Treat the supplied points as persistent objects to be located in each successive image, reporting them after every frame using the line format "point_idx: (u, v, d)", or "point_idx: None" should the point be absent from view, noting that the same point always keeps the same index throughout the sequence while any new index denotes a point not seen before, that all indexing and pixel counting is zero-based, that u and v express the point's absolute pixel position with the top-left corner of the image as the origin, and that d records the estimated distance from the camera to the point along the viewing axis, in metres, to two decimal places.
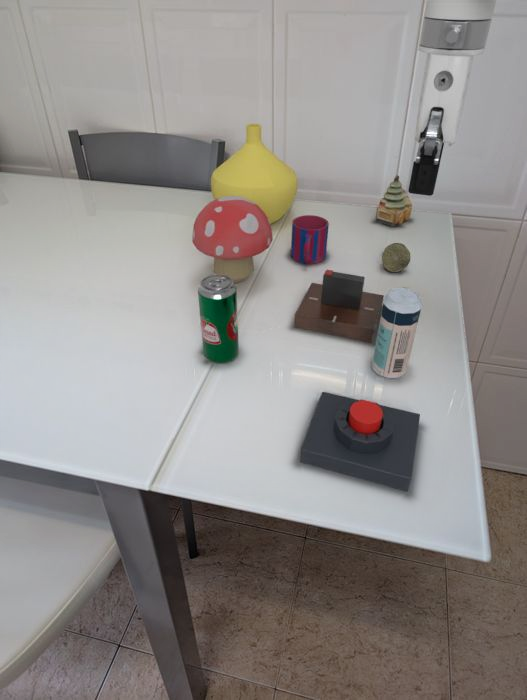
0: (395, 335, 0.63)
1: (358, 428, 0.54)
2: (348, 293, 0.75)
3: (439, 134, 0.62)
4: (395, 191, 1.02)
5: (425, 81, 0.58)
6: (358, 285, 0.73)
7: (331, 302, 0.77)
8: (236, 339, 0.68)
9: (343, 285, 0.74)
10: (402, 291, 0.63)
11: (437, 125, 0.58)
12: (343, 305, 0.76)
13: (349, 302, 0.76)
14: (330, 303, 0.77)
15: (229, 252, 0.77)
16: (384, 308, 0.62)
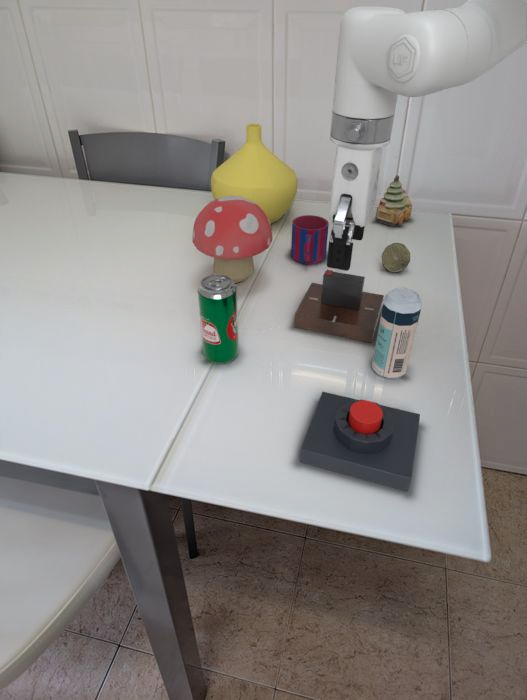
0: (395, 335, 0.63)
1: (358, 428, 0.54)
2: (348, 293, 0.75)
3: (352, 215, 0.65)
4: (395, 191, 1.02)
5: (334, 170, 0.61)
6: (358, 285, 0.73)
7: (331, 302, 0.77)
8: (236, 339, 0.68)
9: (343, 285, 0.74)
10: (402, 291, 0.63)
11: (344, 212, 0.61)
12: (343, 305, 0.76)
13: (349, 302, 0.76)
14: (330, 303, 0.77)
15: (229, 252, 0.77)
16: (384, 308, 0.62)
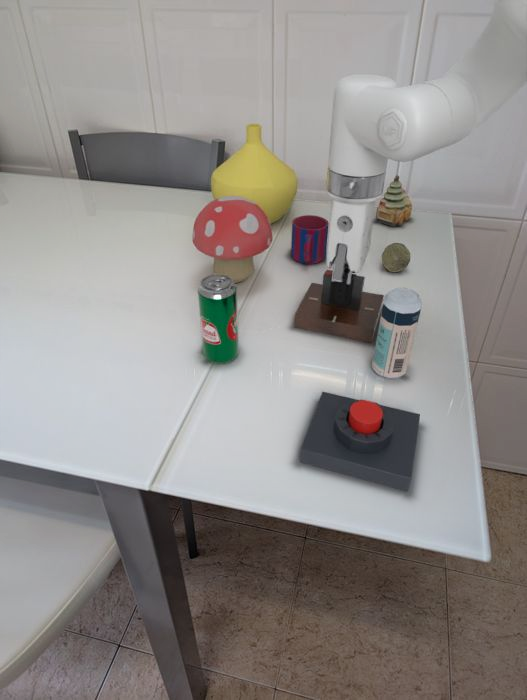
0: (395, 335, 0.63)
1: (358, 428, 0.54)
2: None
3: (348, 261, 0.69)
4: (395, 191, 1.02)
5: (330, 221, 0.65)
6: (358, 285, 0.73)
7: None
8: (236, 339, 0.68)
9: None
10: (402, 291, 0.63)
11: (341, 270, 0.68)
12: None
13: None
14: (330, 303, 0.77)
15: (229, 252, 0.77)
16: (384, 308, 0.62)
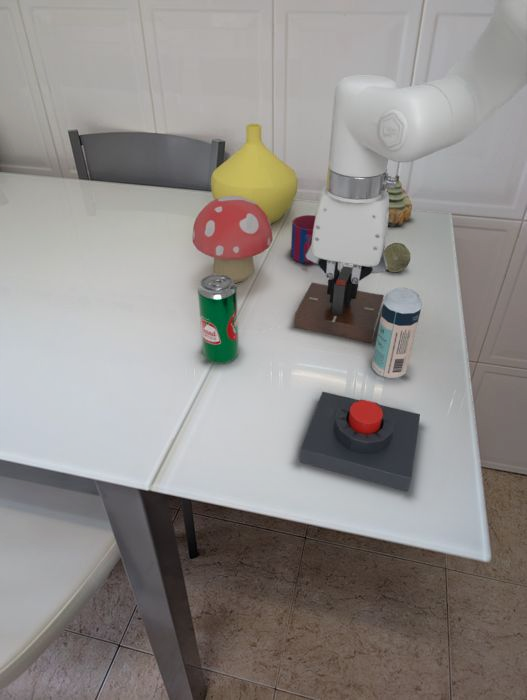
0: (395, 335, 0.63)
1: (358, 428, 0.54)
2: None
3: None
4: (395, 191, 1.02)
5: (379, 222, 0.66)
6: None
7: (344, 306, 0.76)
8: (236, 339, 0.68)
9: None
10: (402, 291, 0.63)
11: (385, 257, 0.71)
12: None
13: None
14: (343, 308, 0.76)
15: (229, 252, 0.77)
16: (384, 308, 0.62)
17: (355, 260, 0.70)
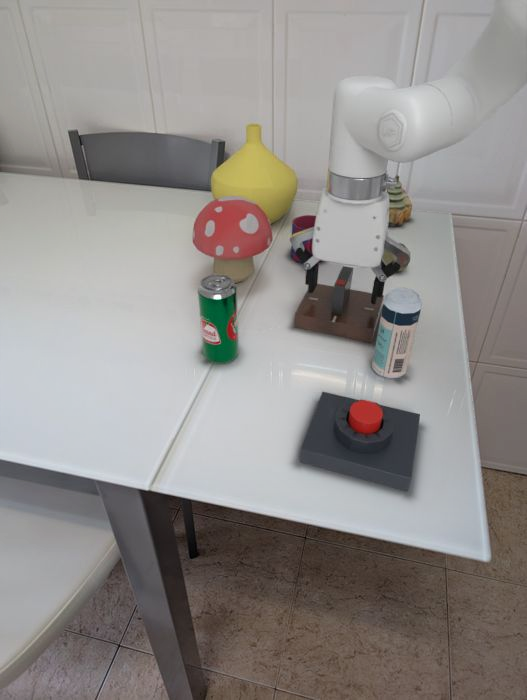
0: (395, 335, 0.63)
1: (358, 428, 0.54)
2: (349, 287, 0.76)
3: None
4: (395, 191, 1.02)
5: (380, 222, 0.65)
6: (351, 274, 0.76)
7: (344, 306, 0.76)
8: (236, 339, 0.68)
9: (348, 283, 0.75)
10: (402, 291, 0.63)
11: (401, 246, 0.69)
12: (346, 300, 0.77)
13: (348, 294, 0.77)
14: (343, 308, 0.76)
15: (229, 252, 0.77)
16: (384, 308, 0.62)
17: (356, 261, 0.70)
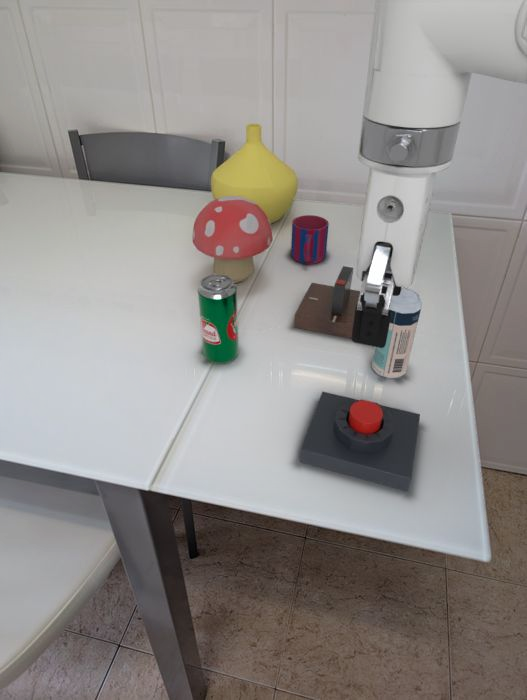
0: (395, 335, 0.63)
1: (358, 428, 0.54)
2: (349, 287, 0.76)
3: (391, 271, 0.44)
4: None
5: (365, 206, 0.40)
6: (351, 274, 0.76)
7: (344, 306, 0.76)
8: (236, 339, 0.68)
9: (348, 283, 0.75)
10: (402, 291, 0.63)
11: (382, 271, 0.40)
12: (346, 300, 0.77)
13: (348, 294, 0.77)
14: (343, 308, 0.76)
15: (229, 252, 0.77)
16: None
17: None
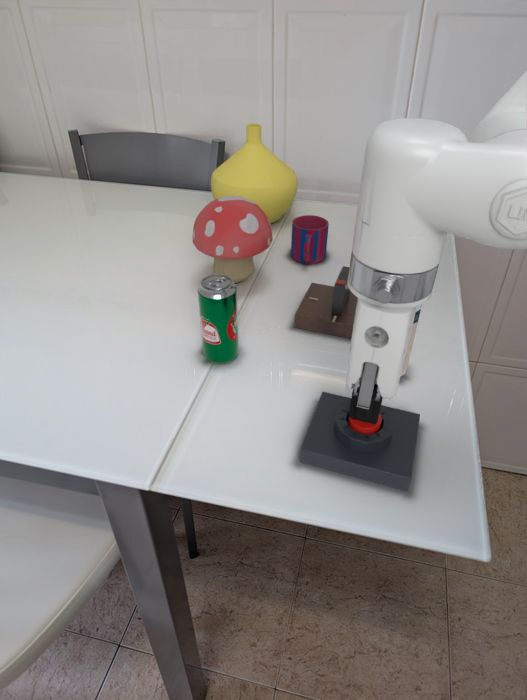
0: None
1: None
2: None
3: None
4: None
5: (354, 331, 0.44)
6: None
7: (344, 306, 0.76)
8: (236, 339, 0.68)
9: None
10: None
11: (369, 395, 0.47)
12: (346, 300, 0.77)
13: (348, 294, 0.77)
14: (343, 308, 0.76)
15: (229, 252, 0.77)
16: None
17: None
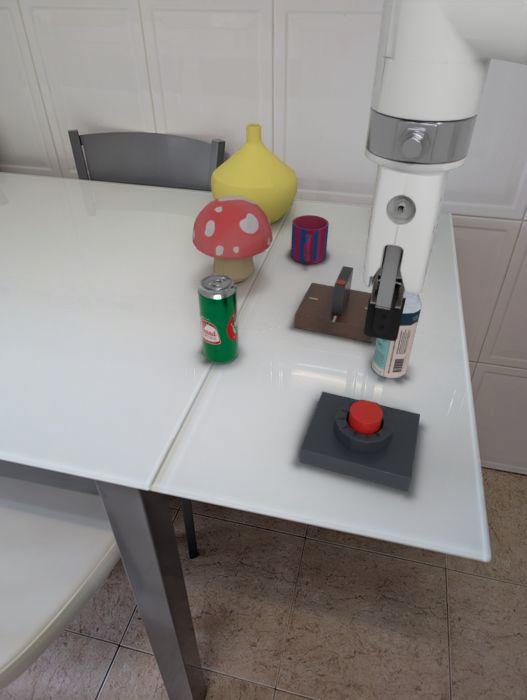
0: None
1: (358, 428, 0.54)
2: (349, 287, 0.76)
3: (399, 276, 0.41)
4: None
5: (373, 206, 0.37)
6: (351, 274, 0.76)
7: (344, 306, 0.76)
8: (236, 339, 0.68)
9: (348, 283, 0.75)
10: None
11: (391, 290, 0.40)
12: (346, 300, 0.77)
13: (348, 294, 0.77)
14: (343, 308, 0.76)
15: (229, 252, 0.77)
16: None
17: None
